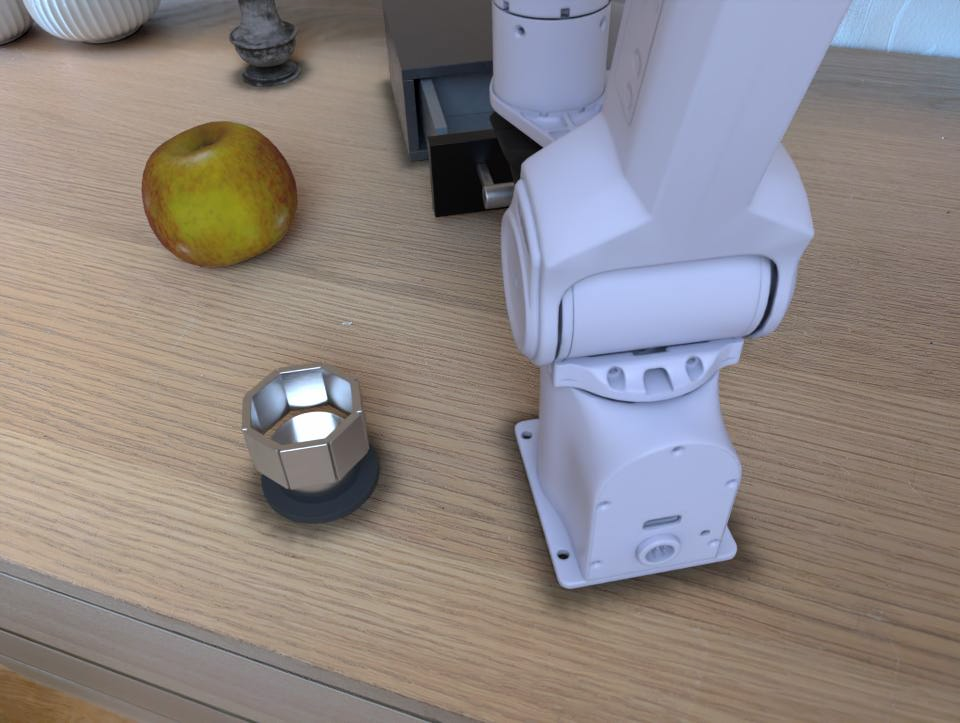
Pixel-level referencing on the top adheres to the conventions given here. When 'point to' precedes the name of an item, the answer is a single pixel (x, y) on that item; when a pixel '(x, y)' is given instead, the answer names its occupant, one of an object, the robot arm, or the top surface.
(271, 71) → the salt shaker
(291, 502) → the coaster
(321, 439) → the silver hollow octagonal piece
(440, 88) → the drawer
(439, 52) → the cabinet
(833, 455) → the top surface
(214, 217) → the fruit
